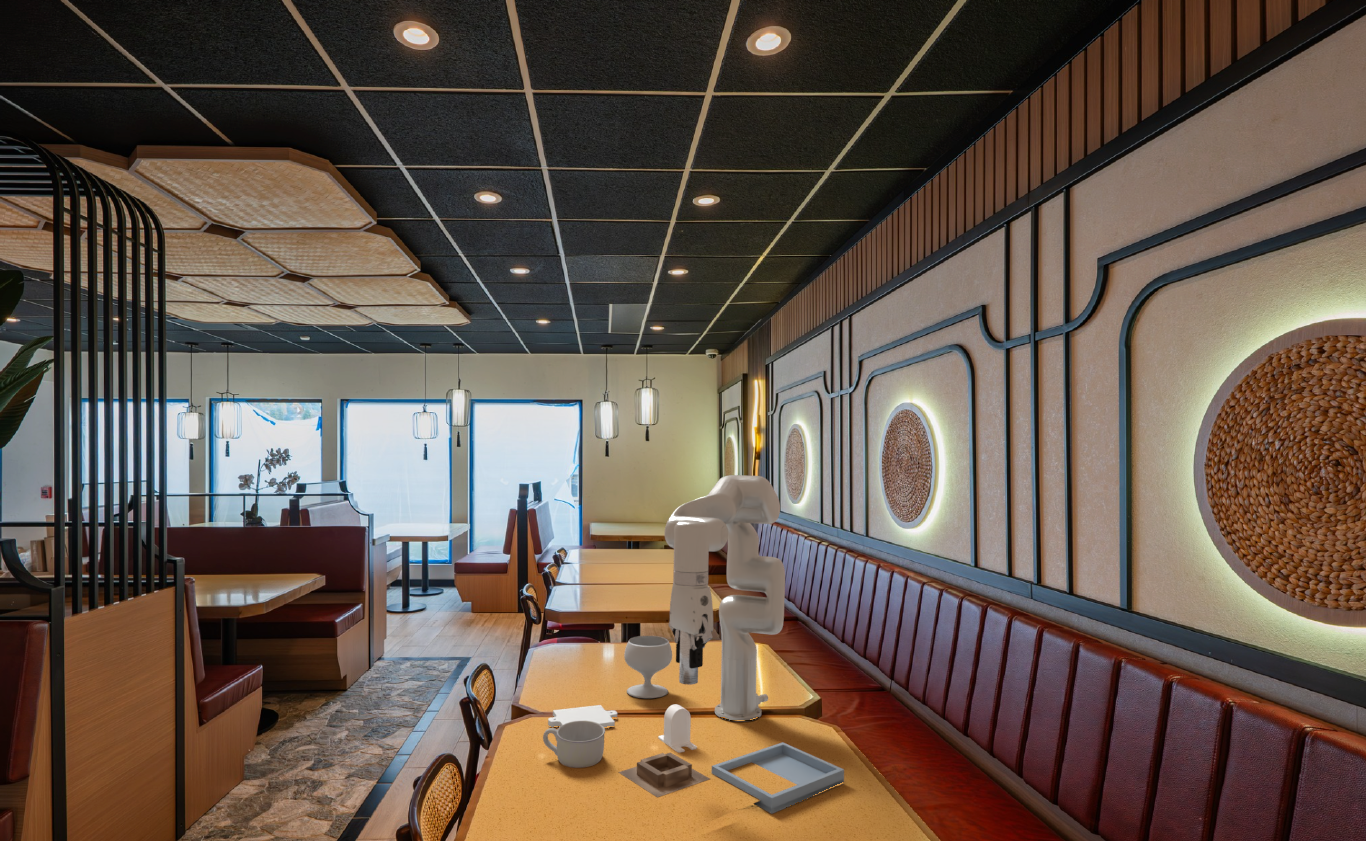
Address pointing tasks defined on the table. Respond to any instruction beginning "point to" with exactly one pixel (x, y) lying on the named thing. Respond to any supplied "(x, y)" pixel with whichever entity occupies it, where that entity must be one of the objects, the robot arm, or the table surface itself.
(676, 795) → the table surface
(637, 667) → the chalice
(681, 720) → the cable organizer
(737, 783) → the tray
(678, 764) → the brown square socket base
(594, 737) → the teacup
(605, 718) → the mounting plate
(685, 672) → the pin
